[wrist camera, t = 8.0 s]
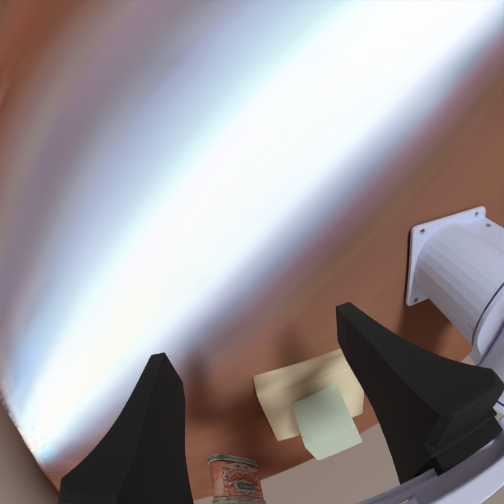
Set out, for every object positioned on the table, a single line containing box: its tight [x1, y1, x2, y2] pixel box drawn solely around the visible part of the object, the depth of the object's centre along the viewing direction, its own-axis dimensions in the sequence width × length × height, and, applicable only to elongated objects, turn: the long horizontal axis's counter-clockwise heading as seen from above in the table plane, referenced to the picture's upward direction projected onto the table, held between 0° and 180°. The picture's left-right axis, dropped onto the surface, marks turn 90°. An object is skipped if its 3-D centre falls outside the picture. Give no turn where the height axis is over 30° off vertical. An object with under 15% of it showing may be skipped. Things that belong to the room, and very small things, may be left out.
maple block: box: [253, 349, 364, 441], centre depth 28 cm, size 10×10×3 cm
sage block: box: [291, 384, 362, 460], centre depth 24 cm, size 4×4×5 cm
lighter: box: [208, 454, 266, 504], centre depth 31 cm, size 8×3×10 cm, turn 50°
